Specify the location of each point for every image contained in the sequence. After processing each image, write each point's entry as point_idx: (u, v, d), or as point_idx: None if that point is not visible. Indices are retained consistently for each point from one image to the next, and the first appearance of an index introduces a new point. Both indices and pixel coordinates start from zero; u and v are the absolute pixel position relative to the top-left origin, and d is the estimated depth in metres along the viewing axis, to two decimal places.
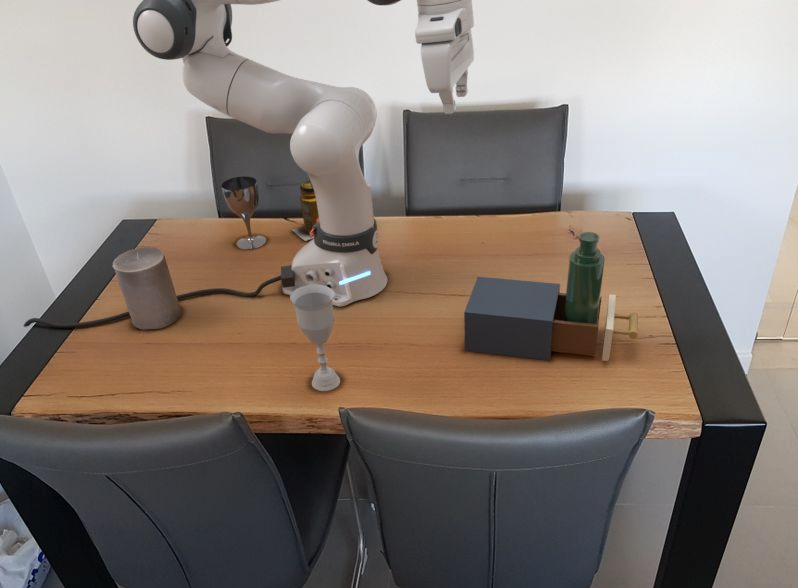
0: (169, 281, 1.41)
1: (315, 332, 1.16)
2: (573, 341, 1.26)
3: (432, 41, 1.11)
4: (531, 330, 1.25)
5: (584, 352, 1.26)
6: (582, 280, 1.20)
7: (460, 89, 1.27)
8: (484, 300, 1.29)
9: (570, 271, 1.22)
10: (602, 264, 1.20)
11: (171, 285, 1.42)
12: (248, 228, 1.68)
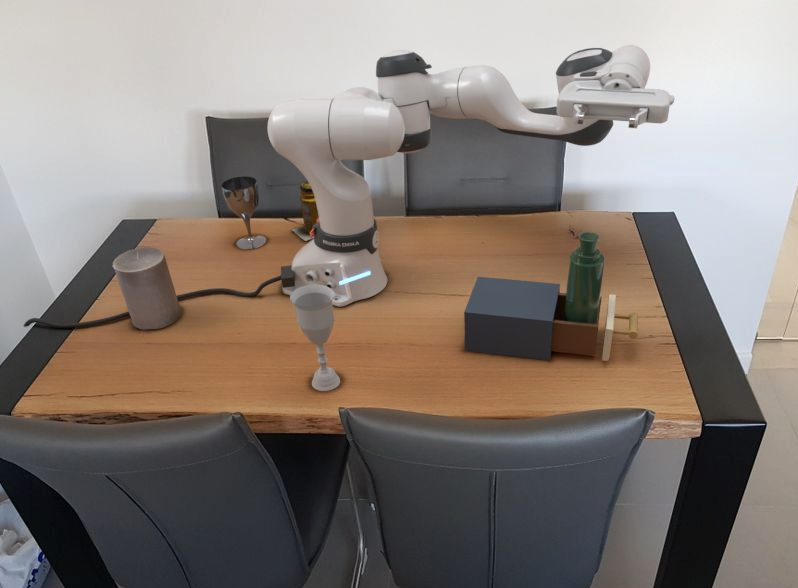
0: (169, 281, 1.41)
1: (315, 332, 1.16)
2: (573, 341, 1.26)
3: None
4: (531, 330, 1.25)
5: (584, 352, 1.26)
6: (582, 280, 1.20)
7: None
8: (484, 300, 1.29)
9: (570, 271, 1.22)
10: (602, 264, 1.20)
11: (171, 285, 1.42)
12: (248, 228, 1.68)
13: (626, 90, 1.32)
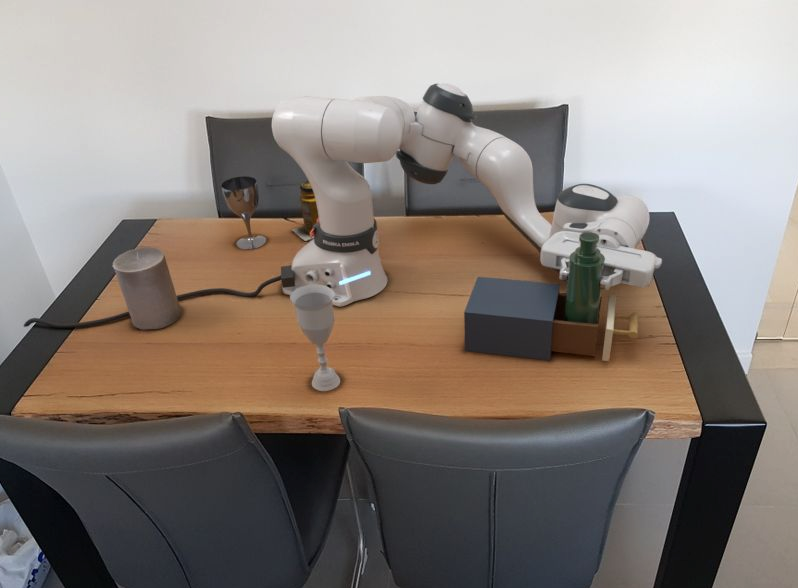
0: (169, 281, 1.41)
1: (315, 332, 1.16)
2: (573, 341, 1.26)
3: None
4: (531, 330, 1.25)
5: (584, 352, 1.26)
6: (582, 280, 1.20)
7: None
8: (484, 300, 1.29)
9: (570, 271, 1.21)
10: (602, 264, 1.20)
11: (171, 285, 1.42)
12: (248, 228, 1.68)
13: (613, 248, 1.28)
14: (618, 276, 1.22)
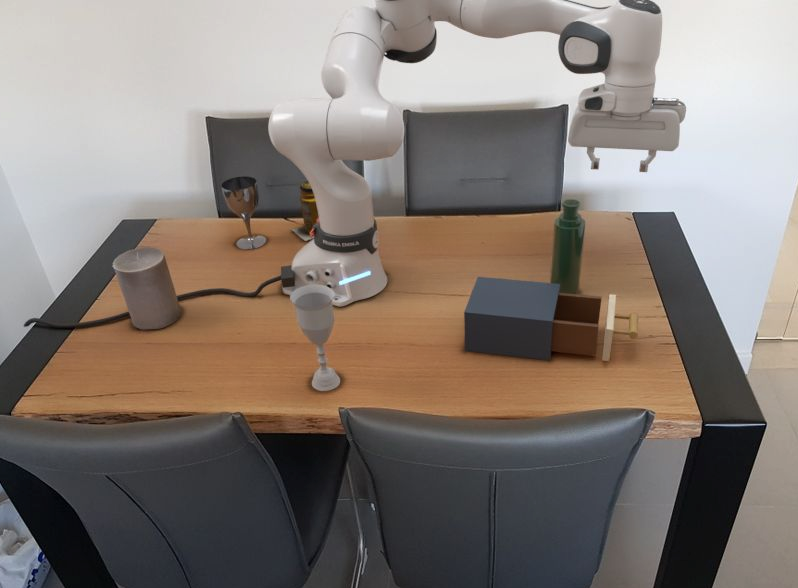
0: (169, 281, 1.41)
1: (315, 332, 1.16)
2: (573, 341, 1.26)
3: None
4: (531, 330, 1.25)
5: (584, 352, 1.26)
6: (565, 241, 1.36)
7: None
8: (484, 300, 1.29)
9: (555, 234, 1.37)
10: (583, 227, 1.35)
11: (171, 285, 1.42)
12: (248, 228, 1.68)
13: (635, 120, 1.30)
14: (653, 157, 1.34)
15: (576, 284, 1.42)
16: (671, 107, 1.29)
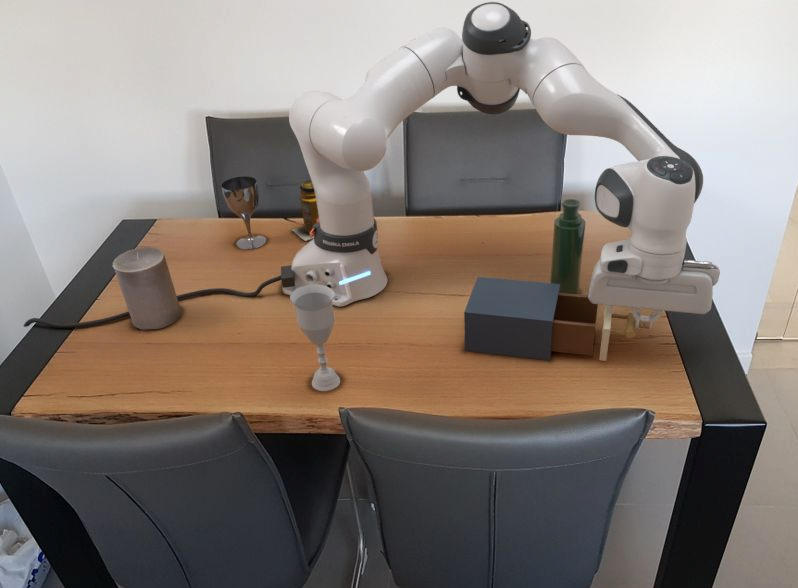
0: (169, 281, 1.41)
1: (315, 332, 1.16)
2: (570, 341, 1.26)
3: None
4: (531, 330, 1.25)
5: (581, 352, 1.27)
6: (565, 241, 1.36)
7: None
8: (484, 300, 1.29)
9: (555, 234, 1.37)
10: (583, 227, 1.35)
11: (171, 285, 1.42)
12: (248, 228, 1.68)
13: (664, 283, 1.18)
14: None
15: (576, 284, 1.42)
16: (703, 270, 1.16)
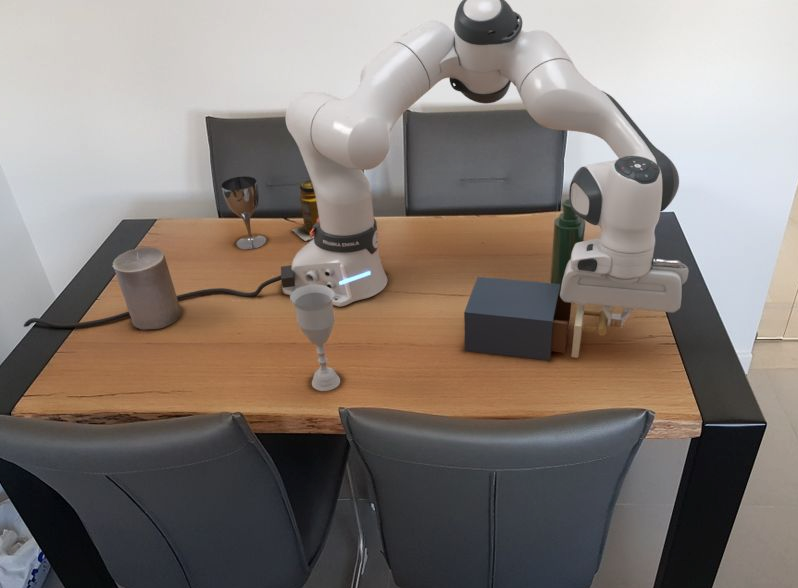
0: (169, 281, 1.41)
1: (315, 332, 1.16)
2: None
3: None
4: (531, 330, 1.25)
5: (554, 349, 1.28)
6: (565, 241, 1.36)
7: None
8: (484, 300, 1.29)
9: (555, 234, 1.37)
10: (583, 227, 1.35)
11: (171, 285, 1.42)
12: (248, 228, 1.68)
13: (633, 281, 1.19)
14: None
15: None
16: (672, 269, 1.18)
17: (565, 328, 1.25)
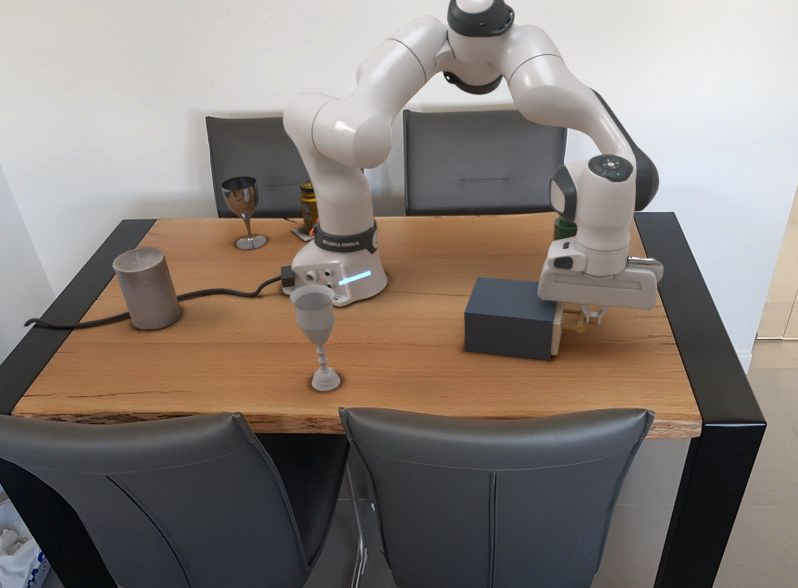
0: (169, 281, 1.41)
1: (315, 332, 1.16)
2: None
3: None
4: (531, 330, 1.25)
5: None
6: None
7: None
8: (484, 300, 1.29)
9: (555, 234, 1.37)
10: None
11: (171, 285, 1.42)
12: (248, 228, 1.68)
13: (609, 279, 1.20)
14: (606, 311, 1.25)
15: None
16: (647, 267, 1.18)
17: None
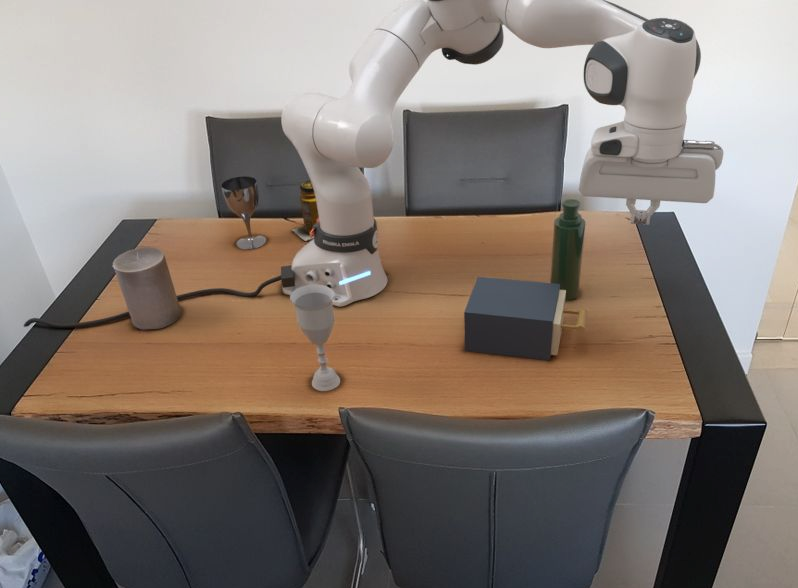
0: (169, 281, 1.41)
1: (315, 332, 1.16)
2: None
3: None
4: (531, 330, 1.25)
5: None
6: (565, 241, 1.36)
7: None
8: (484, 300, 1.29)
9: (555, 234, 1.37)
10: (583, 227, 1.35)
11: (171, 285, 1.42)
12: (248, 228, 1.68)
13: (661, 167, 1.07)
14: None
15: (576, 284, 1.42)
16: (705, 151, 1.06)
17: None
